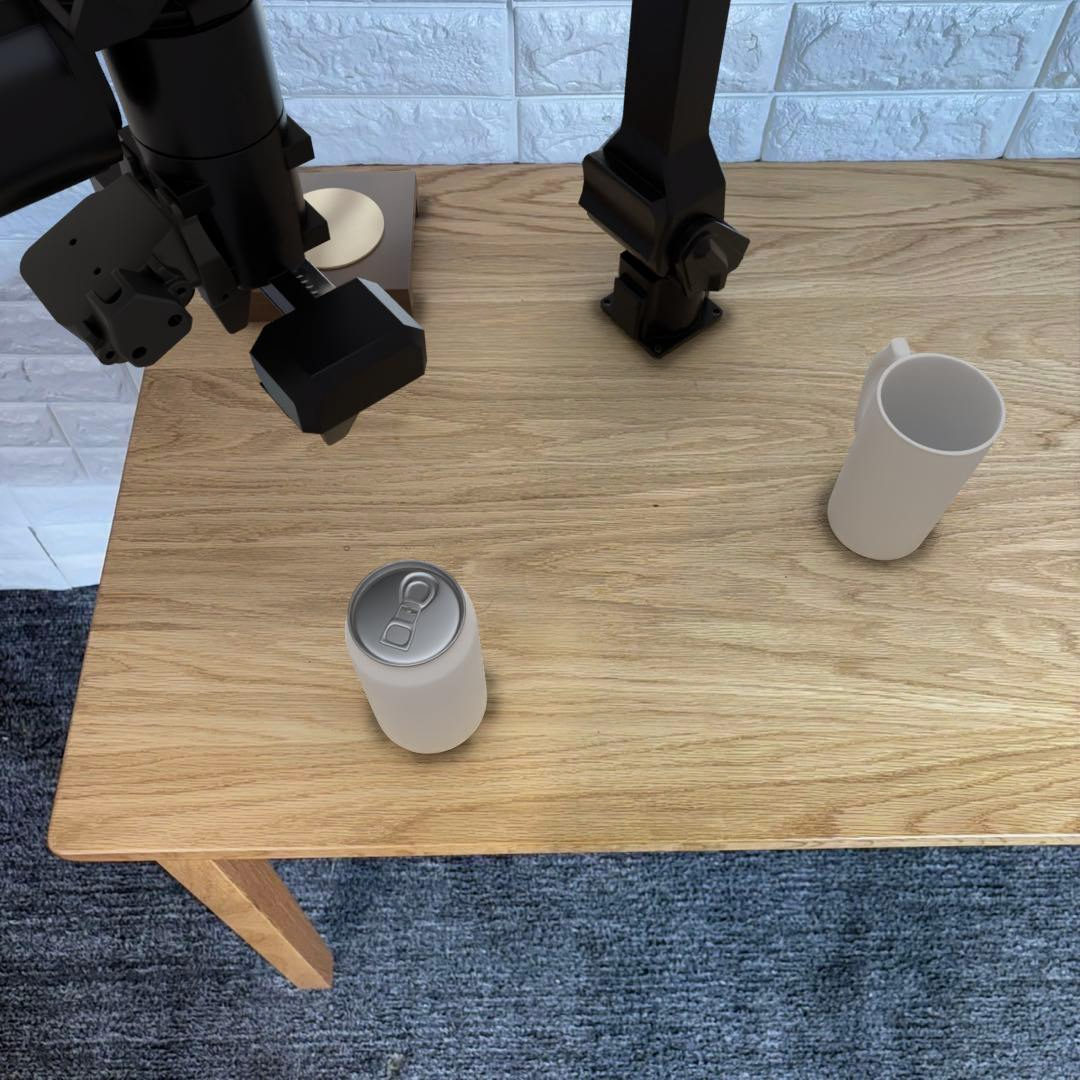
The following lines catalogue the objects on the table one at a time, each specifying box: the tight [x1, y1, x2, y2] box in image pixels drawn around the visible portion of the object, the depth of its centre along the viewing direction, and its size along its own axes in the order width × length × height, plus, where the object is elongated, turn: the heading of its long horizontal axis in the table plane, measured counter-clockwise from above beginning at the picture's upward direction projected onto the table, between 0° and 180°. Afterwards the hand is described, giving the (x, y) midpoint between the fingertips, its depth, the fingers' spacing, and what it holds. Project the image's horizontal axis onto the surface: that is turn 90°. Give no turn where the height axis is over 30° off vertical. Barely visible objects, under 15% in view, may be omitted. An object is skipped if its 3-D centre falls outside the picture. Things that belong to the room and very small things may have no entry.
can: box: [344, 558, 488, 755], centre depth 52 cm, size 6×6×12 cm
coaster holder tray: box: [248, 170, 421, 322], centre depth 72 cm, size 12×12×5 cm
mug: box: [826, 337, 1007, 561], centre depth 59 cm, size 10×7×12 cm, turn 10°
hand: (285, 382), depth 51 cm, fingers open, 9 cm apart
